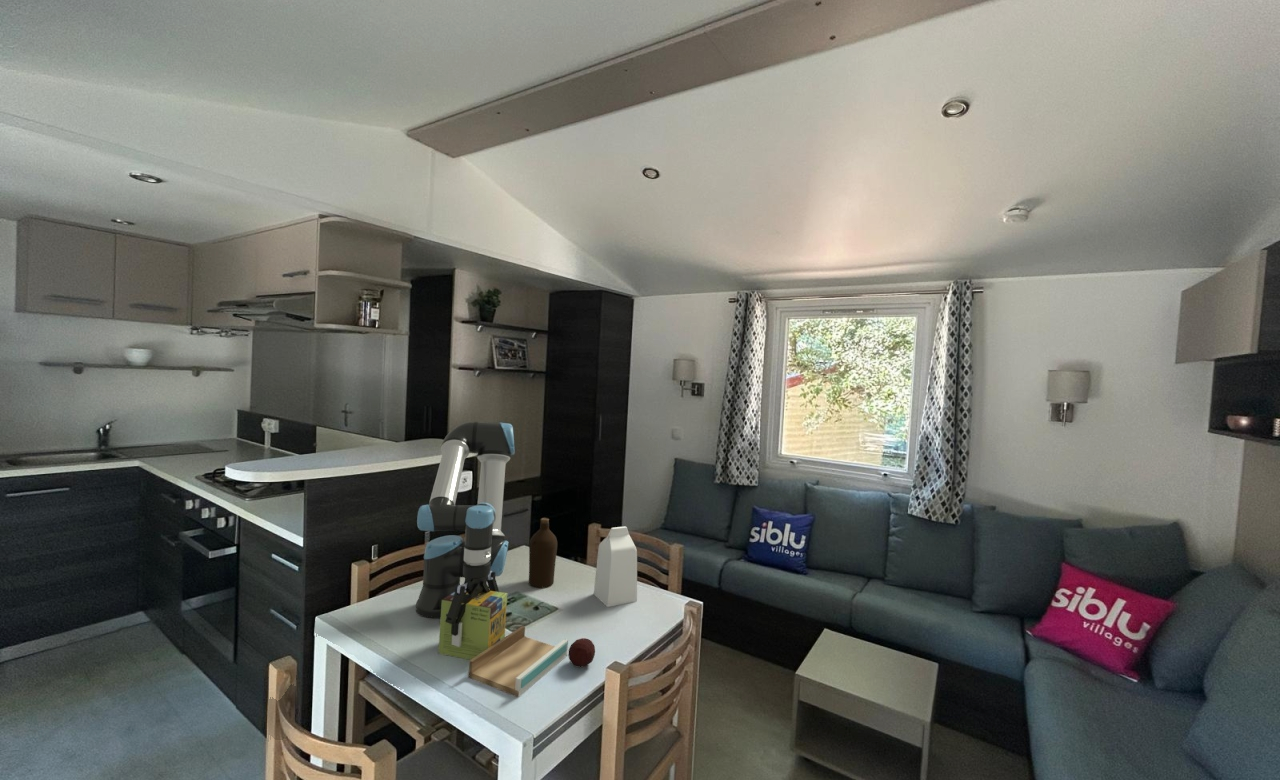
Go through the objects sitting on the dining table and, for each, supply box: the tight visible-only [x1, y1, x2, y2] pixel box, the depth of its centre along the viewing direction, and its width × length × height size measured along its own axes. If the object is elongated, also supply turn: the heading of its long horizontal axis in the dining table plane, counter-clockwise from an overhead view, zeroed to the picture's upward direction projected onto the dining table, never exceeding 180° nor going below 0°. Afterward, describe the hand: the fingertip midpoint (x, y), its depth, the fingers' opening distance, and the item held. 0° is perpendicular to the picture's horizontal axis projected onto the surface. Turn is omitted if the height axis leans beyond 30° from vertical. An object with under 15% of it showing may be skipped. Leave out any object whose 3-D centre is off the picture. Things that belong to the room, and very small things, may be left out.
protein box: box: [437, 591, 508, 661], centre depth 145 cm, size 10×15×16 cm
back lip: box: [468, 625, 526, 680], centre depth 141 cm, size 1×22×4 cm, turn 156°
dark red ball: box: [567, 637, 596, 668], centre depth 141 cm, size 7×8×7 cm
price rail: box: [515, 638, 569, 698], centre depth 135 cm, size 1×22×4 cm, turn 155°
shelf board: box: [467, 636, 556, 698], centre depth 138 cm, size 16×22×2 cm
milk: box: [593, 526, 638, 608], centre depth 186 cm, size 12×12×26 cm
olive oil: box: [528, 517, 558, 589], centre depth 194 cm, size 11×11×25 cm
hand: (473, 635), depth 145 cm, fingers open, 12 cm apart
